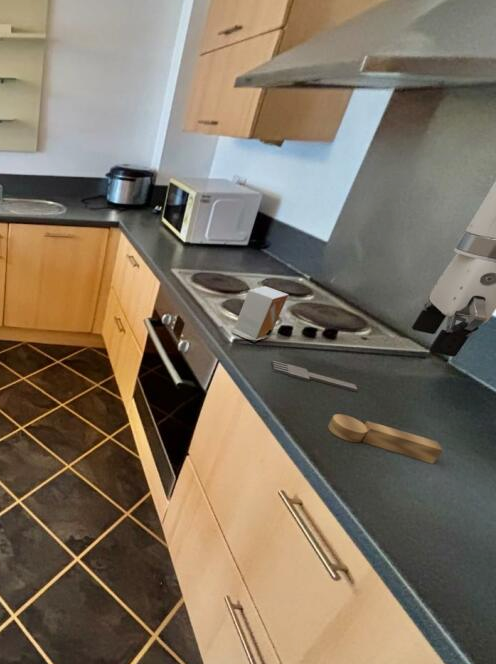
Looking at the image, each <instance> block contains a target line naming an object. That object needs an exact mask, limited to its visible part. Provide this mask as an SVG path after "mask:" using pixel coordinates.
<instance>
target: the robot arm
mask: <svg viewBox="0 0 496 664" xmlns="http://www.w3.org/2000/svg"><path fill="white" fill-rule="evenodd" d="M453 252H455V256H453V259H452V260H450V262H449V263H448V265H447V266H446V268H445V270H444V271H443V273H442V274H441V276H439V279H438V280H437V282H436V283H435V285H434V286H433V288H432V290H431V292H430V294H429V296H428V301H427V302H426V303H424V305H423V307H422V308H423V309H421V311H420V313H419V314H418V316H417V318H416V319H415V321H414V322H413V325H412V326H411V329H412V330H413V331H416V332H421V333H425V334H430V335H435V334H436V333H437V332H438V330H439V328H440V327H441V325H442V323H443V322H444V320H445V319H446V318H447V321H446V325H445V329H441V330H440V331H439V333H438V334H437V336H436V337H435V338H434V341H433V342H432V344H431V345H430V347H429V351H430V352H431V353H435V354H439V355H444V356H447V357H456V356H457V355H458V354H459V353H460V351H461V349H462V348H463V347H464V345H465V344H466V342H467V341H468V340H469V338H471V337H472V336H473V334H474V332H476V331H477V330H479V327H480V326H481V325H482V324H486V323H487V322H489V320H490V318H492V316H493V314H494V312H495V311H496V180H495V181H494V183H493V184H492V186H491V188H490V190H489V191H488V192H487V194H486V196H485V197H484V200H483V201H482V203H481V204H480V206H479V208H478V209H477V211H476V213H475V214H474V216H473V217H472V219H471V220H470V222H469V224H468V226H467V228H466V230H465V231H464V232H463V234H462V236H461V238H460V239H459V241H458V242H457V244H456V246H455V247H454V249H453ZM457 321H458V323H457Z"/></svg>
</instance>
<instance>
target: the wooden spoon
mask: <svg viewBox="0 0 496 664" xmlns="http://www.w3.org/2000/svg"><path fill="white" fill-rule="evenodd" d="M327 429H328V430H329V431H330V432H331V433H332V434H333V435H335V436H336V437H338V438H340V439H341V440H344V441H347V442H350V443H360V442H361V443H364V444H368V445H371V446H375V447H378V448H381V449H384V450H387V451H390V452H393V453H397V454H400V455H403V456H405V457H409V458H412V459H415V460H419V461H422V462H425V463H427V464H431V465H434V463H435V462H436V460H438V458H439V456H440V455H441V454H442V453H443V448H442V446H441V445H440V444H439V442H438V441H437V440H433V439H431V438H427V437H423V436H420V435H417V434H413V433H409V432H407V431H403V430H400V429H396V428H393V427H390V426H386V425H383V424H380V423H377V422H376V423H375V422H372V421H369V420H366V421H365V423H363V422H362V421H361V420H359V419H357V418H355V417H353V416H350V415H347V414H344V413H343V414H342V413H337V414H336V413H335V414H334V415H333V416H332V417H331V419H330V421H329V423H328V425H327Z"/></svg>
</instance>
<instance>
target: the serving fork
mask: <svg viewBox="0 0 496 664" xmlns="http://www.w3.org/2000/svg"><path fill="white" fill-rule="evenodd" d="M271 368H272V372H275V373H278V374H282V375H284V376H285V375H286V376H288V377H291V378H295V379H298V380H301V381H305V382H309V381H314V382H318V383H321V384H325V385H328V386H331V387H335V388H339V389H343V390H346V391H350V392H354V393H357V391H358V387H357V385H356V383H355V384H354V383H351V382H347V381H344V380H340V379H336V378H333V377H328V376H326V375H321V374H317V373H314V372H310V371H308V369H307V368H304V367H300V366H297V365H294V364H289V363H284V362H280V361H276V360H272V361H271Z"/></svg>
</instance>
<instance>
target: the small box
mask: <svg viewBox="0 0 496 664" xmlns="http://www.w3.org/2000/svg"><path fill="white" fill-rule="evenodd" d="M288 297H289V293H286V292H283V291H280V290H277V289H275V288H272V287H269V286H266V285H264V286H260V287H255V288H252V289H248V291H247V294H246V296H245V299H244V302H243V305H242V307H241V309H240V311H239V315H238V317H237V320H236V321H235V324H234V327H233V329H234V328H235V329H237V330H239V331H241V332H243V333H245V334H247V335H249V336H251V337H253V338H255V339H258V338H260V337H263V336H265V335H266V334H267V333H268V332H269V330H273V331H274V329H275V327H276V326H275V325H276V324H277V322H278V319H279V317H280V315H281V313H282V310H283V308H284V306H285V303H286V302H287V299H288Z"/></svg>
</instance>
